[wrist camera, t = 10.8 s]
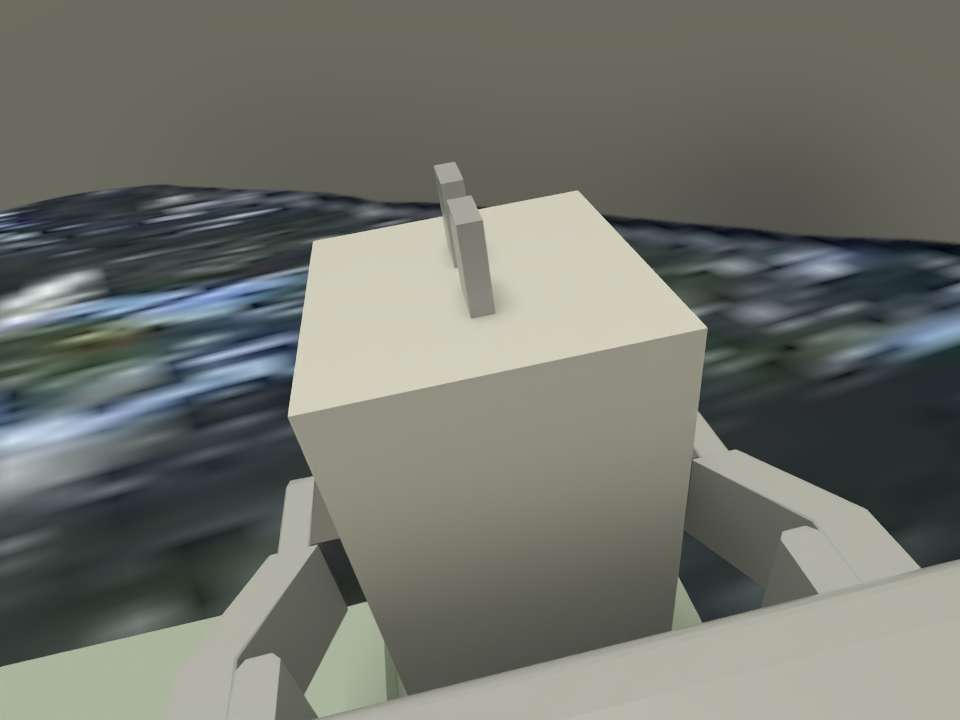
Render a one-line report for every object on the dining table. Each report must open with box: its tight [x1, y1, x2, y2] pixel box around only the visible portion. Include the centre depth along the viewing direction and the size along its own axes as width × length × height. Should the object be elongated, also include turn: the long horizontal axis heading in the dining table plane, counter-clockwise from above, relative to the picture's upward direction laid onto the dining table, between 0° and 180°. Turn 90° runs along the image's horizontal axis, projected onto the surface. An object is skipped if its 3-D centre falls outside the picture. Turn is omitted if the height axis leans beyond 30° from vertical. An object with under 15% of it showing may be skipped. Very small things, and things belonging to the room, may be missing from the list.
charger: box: [288, 162, 707, 696], centre depth 10 cm, size 4×4×11 cm
